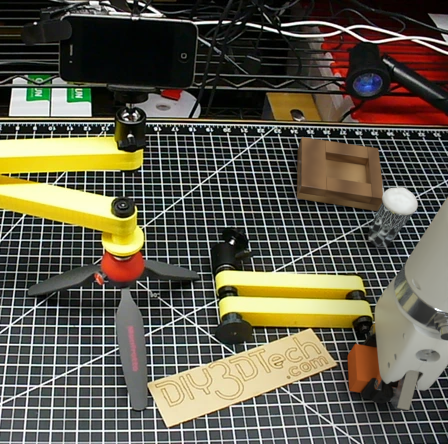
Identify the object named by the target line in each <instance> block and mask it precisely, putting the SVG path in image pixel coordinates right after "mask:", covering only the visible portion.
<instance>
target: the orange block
mask: <svg viewBox="0 0 448 444" xmlns="http://www.w3.org/2000/svg"><path fill="white" fill-rule="evenodd" d="M347 369H348V370H347V373H348V374H347V376H348V391H350V392H354V393H359V394H361V392H362V390H363V389H364V388H365V386H366V385H367V384H368V383H369V381H370V380H371V378H377V376H378V374H379V372H380V371H379V363H378V352H377V348H376V347H370V346H365V345H362V344H360V343H355V344H354V345H353V346H352V348H351V349H350V351H349V352H348V353H347Z"/></svg>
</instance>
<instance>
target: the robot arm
mask: <svg viewBox="0 0 448 444" xmlns="http://www.w3.org/2000/svg"><path fill="white" fill-rule="evenodd" d="M369 330H370V331H369V333H370V335H367V337H366V338H365V340H364V341H363V343H362V344H361V345H365V346H370V347H376V348H377V352H378V363H379V371H380V372H379V374H378V376H377V378H371V380H370V381H369V383H368V384H367V385H366V386H365V388H364V389H363V390H362V392H361V393H360V396H361V398H362V399H366V400H371V401H372V402H373V403H375V404H386V403H389V402H390V403H391V404H392V407H393V408H394V410H398V411H403V412H409V411H410V409H411V405H412V401H413V398H414V393H415V389H416V390H417V391H427V390H429V388H430V387H432V385H434V383H435V382H436V381H437V380H438V379H439V377H440V376H441V374H442V373H443V372H444V371H445V370H446V368H447V367H448V196H447V197H446V198H445V200H444V201H443V203H442V205H441V206H440V208H439V209H438V211H437V213H436V214H435V215H434V217H433V219H432V221H431V222H430V224H429V225H428V227H427V229H425V231H424V233H423V234H422V236H421V237H420V239H419V241H418V242H417V244H416V245H415V246H414V248H413V251H411V253H410V254H409V256H408V257H407V259H406V261H405V262H404V264H403V265H402V267H401V269H400V270H399V271H398V273H397V274H395V276H394V277H393V278H392V280H390V282H389V283H388V285H387V286H386V287H385V288H384V290H383V292H382V293H381V295H380V296H379V298H378V300H377V302H376V304H375V307H374V323H373V324H371V327H370V329H369Z"/></svg>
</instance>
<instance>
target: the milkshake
mask: <svg viewBox="0 0 448 444" xmlns="http://www.w3.org/2000/svg"><path fill="white" fill-rule="evenodd" d="M382 189H383V196H382V199H381V201H380V204H379V207H378V210H377V211H375V215H374V217H373V219H372V222H371V224H370V227H369V229H368V232H367V240H368V241H369V243H371V245H373V246H375V247H377V248H387V247H388V246H389V245H391V243H392V242H393V241H394V239H395V238H396V237H397V235H398V234H399V232H400V231H401V230H402V229H403V227H404V226H405V224H406V223H407V222H408V221H409V220H410V218H411V217H412V216H413V215H414V214H415V212H417V209H418V207H419V203H418V199H417V197H416V196H415V194H414V193H413V192H411V191H410V190H409V189H407V188H406V187H402V186H401V187H399V186H398V187H390V188H388V189H386V190H385V187H384V180H382Z"/></svg>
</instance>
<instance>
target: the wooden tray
mask: <svg viewBox="0 0 448 444" xmlns="http://www.w3.org/2000/svg"><path fill="white" fill-rule="evenodd" d="M296 160H297V161H296V163H297V165H296V166H297V168H296V169H297V170H296V171H297V173H296V199H299V200H305V201H311V202H318V203H324V204H329V205H336V206H342V207H343V206H344V207H348V208H353V209H354V208H355V209H361V210H368V211H374V212H377V210H378V207H379V204H380V201H381V199H382V196H383V189H382V181H383V176H382V169H381V159H380V152H379V148H378V147H373V146H372V147H371V146H365V145H358V144H352V143H344V142H340V141H339V142H338V141H332V140H324V139H317V138H311V137H306V136H305V137H304V136H301V137H300V141H299V145H298V147H297V159H296Z"/></svg>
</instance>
